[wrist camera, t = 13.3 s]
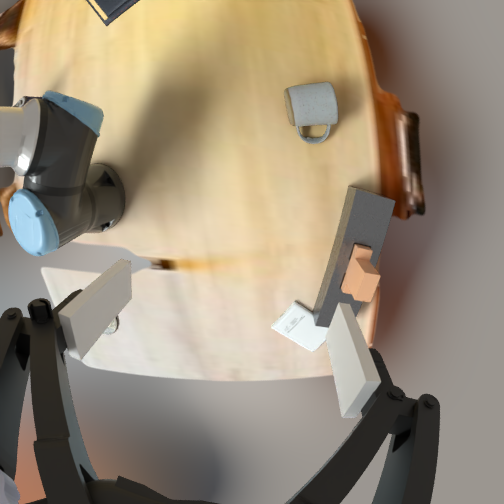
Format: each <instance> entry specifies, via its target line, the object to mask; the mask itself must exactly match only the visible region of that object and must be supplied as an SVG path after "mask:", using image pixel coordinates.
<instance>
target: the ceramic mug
mask: <svg viewBox="0 0 504 504" xmlns="http://www.w3.org/2000/svg"><path fill="white" fill-rule="evenodd" d="M284 97H285V102H286V108H287V112H288V117H289V121H290V124H292V125H293V126H296V129H297V132H298V135H299V136H300V138H301V139H302V140H303V141H305V142H307V143H311V144H317V143H321V142H323V141H324V140H325V139H326V138H327V136H328V135H329V132H330V127H331V124H336V123H337V121H338V105H337V99H336V95H335V91H334V88H333V86H332V85H331V83H330V82H322V83H313V84H306V85H298V86H293V87H289V88H287V89H285V91H284ZM310 125H327V129H326V132H325V134H324V135H323V136H322V137H320V138H309V137H307V138H305V137H304V136H303V135H302V134H301V133H300V131H299V126H310Z"/></svg>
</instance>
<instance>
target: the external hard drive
mask: <svg viewBox="0 0 504 504" xmlns="http://www.w3.org/2000/svg"><path fill="white" fill-rule="evenodd" d="M271 328H273V329H274V330H276V331H278V332H279V333H281V334H283V335H284V336H286V337H288V338H289V339H291V340H293V341H294V342H296V343H298V344H299V345H301V346H303V347H305V348H306V349H308V350H310V351H312V352H314V351H315V350H316V349H317V348H318V347H319V346H320V345H321V344H322V343H323V342H324V341H326V339H325V336H326V334H327V331H328V329H329V328H326V327H319V326H315V323H314V318H313V313H312V312H311V311H309V310H308V309H306V308H305V307H303V306H301V305H300V304H298V303H297V302H295V301H294V302H293V303H292V304H291V305H290V306H289V307H288V309H287V310H286V311H285V313H284V314H283V315H282V316H280V317H279V318H278V319H277V320H276V321H275V322H274V323H273V324H272V326H271Z"/></svg>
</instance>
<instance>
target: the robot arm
mask: <svg viewBox="0 0 504 504" xmlns="http://www.w3.org/2000/svg"><path fill="white" fill-rule="evenodd" d="M103 117H104V114H103V111H102V110H101V109H100V108H99V107H97V106H95V105H92V104H90V103H87V102H84V101H81V100H79V99H76V98H73V97H69V96H66V95H63V94H60V93H57V92H53V91H49V90H48V91H46V92H45V94H44V95H43V97H42V99H36V98H33V99H31V100H30V101H28V102H27V103H26V104H25V105H24V106H23V107H20V108H19V107H0V167H12V168H13V170H14V171H15V172H16V174H17V175H18V176H25V177H24V184H23V189H19V190H17V192H15V193H14V195H13V196H12V197H11V199H10V203H9V221H10V225H11V228H12V231H13V233H14V235H15V237H16V239H17V241H18V243H19V244H20V245H21V246H22V248H23V249H24V250H26V251H27V252H28V253H30V254H32V255H34V256H43V255H45V254H47V253H50V252H53V251H55V250H57V249H58V248H60V247H61V246H63V245H65V244H66V243H68V242H70V241H71V240H73V239H75V238H76V237H78V236H80V235H82V234H83V233H101V232H104V231H106V230H108V229H110V228H112V227H113V226H114V225H115V224H116V223H117V222H118V221H119V220H120V218H121V216H122V214H123V210H124V206H125V193H124V188H123V185H122V182H121V180H120V178H119V176H118V175H117V174H116V173H115V171H114V170H112V169H111V168H110V167H108V166H106V165H103V164H91V165H90V162H91V158H92V155H93V151H94V148H95V144H96V141H97V138H98V137H99V136H100V133H99V132H100V128H101V125H102V121H103ZM131 299H132V288H131V261H128V260H123V259H120V260H119V261H118V262H116V263H115V264H114V265H113V266H111V268H109V269H108V270H107V271H105V272H104V273H103V274H102V275H101V276H99V277H98V278H97V279H96V280H95V281H93V282H92V283H91V284H90V285H89V286H88V287H86V288H85V289H84V290H81V289H79V290H77V291H75V292H73V293H71V294H70V295H69V296H68V297H67V298H66V299H64V300H63V302H61V303H60V304H59V305H58V306H56V307H55V308H54V309H53V310H52V309H51V304H50V302H49V301H48V300H47V299H44V298H39V299H35V300H33V301H32V302H30V303H29V304H28V311H29V314H30V318H27V317H23V314H22V312H21V310H20V309H19V308H9V309H7V310H6V311H5V312H4V313H3V314H2V316H1V318H0V504H18V500H19V499H20V494H19V492H18V491H17V487H16V485H15V483H14V479H15V473H16V464H17V447H18V436H19V427H20V419H21V413H22V406H23V401H24V395H25V390H26V385H27V381H28V376H29V372H30V377H31V393H32V405H33V414H34V421H35V428H36V434H37V441H34V452H35V457H36V461H37V465H38V470H39V473H40V477H41V481H42V485H43V488H44V491H45V494H46V498H44V499H41V500H37V501H34V502H31V503H27V504H217V503H212V502H206V501H190V500H172V499H169V498H167V497H165V496H163V495H161V494H159V493H157V492H156V491H154V490H152V489H150V488H148V487H147V486H145V485H143V484H140V483H137V482H134V481H131V480H129V479H126V478H124V477H121V476H118V478H117V480H112V479H102V480H99V479H98V477H97V475H96V473H95V471H94V469H93V467H92V465H91V463H90V460H89V457H88V454H87V451H86V448H85V446H84V442H83V439H82V435H81V432H80V428H79V425H78V421H77V417H76V413H75V409H74V405H73V400H72V396H71V391H70V386H69V380H68V374H67V368H66V362H65V355H64V351H65V349H66V348H67V349H68V352H69V355H70V356H71V357H74V358H76V359H78V360H80V361H81V360H82V359H83V357H84V356H85V355H86V353H87V352H88V351H89V350H90V348H91V347H92V346H93V345H94V343H95V342H96V341H97V340H98V338H99V337H100V336H101V335H102V333H103V332H104V331H105V330H106V328H107V327H108V326H109V325H110V324H111V322H112V321H113V320H114V319H115V318H116V316H117V315H118V314H119V313H120V312H121V310H122V309H123V308H124V307H125V306H126V304H127V303H128V302H129V301H130V300H131ZM325 339H326V343H327V348H328V352H329V357H330V361H331V366H332V370H333V375H334V380H335V384H336V389H337V394H338V400H339V405H340V410H341V415H342V418H356V416H357V415H358V414H359V413H360V411H361V412H362V416H363V417H362V419H361V420H360V421H359V422H358V424H357V425H356V426H355V427H354V429H353V430H352V432H351V433H350V434H349V436H348V437H347V438H346V439H345V441H344V442H343V443H342V444H341V446H340V447H339V448H338V449H337V450H336V452H335V453H334V454H333V455H332V456H331V457H330V458H329V460H328V461H327V462H326V463H325V464H324V465H323V466H322V468H321V469H320V470H319V471H318V472H317V473H316V474H315V475H314V476H313V477H312V478H311V479H310V480H309V481H308V482H307V483H306V484H305V485H304V486H303V487H302V488H301V489H300V490H299V491H298V492H297V493H296V494H295V495H294V496H293V497H292V498H291V499H289V500H288V501H287V502H286V503H285V504H340V503H341V502H342V500H343V499H344V498H345V496H346V495H347V494H348V493H349V491H350V490H351V489H352V487H353V486H354V485H355V483H356V482H357V481H358V479H359V478H360V477H361V475H362V474H363V472H364V471H365V469H366V468H367V467H368V465H369V463H370V462H371V461H372V459H373V458H374V456H375V454H376V453H377V451H378V450H379V448H380V446H381V445H382V443H383V441H384V440H385V438H386V436H387V435H388V433H389V434H392V437H391V441H390V445H389V450H388V454H387V458H386V461H385V464H384V468H383V471H382V475H381V478H380V481H379V484H378V487H377V490H376V493H375V496H374V499H373V502H372V504H430V502H431V497H432V492H433V487H434V480H435V473H436V466H437V457H438V445H439V428H440V427H439V426H440V405H439V402H438V400H437V399H436V398H435V397H434V396H432V395H430V394H423V395H421V396H420V398H419V399H418V400H415V399H412V398H408V397H406V396H405V393H404V392H403V390H401V389H400V388H399V387H396V386H394V385H393V383H392V380H391V378H390V375H389V373H388V371H387V369H386V366H385V364H384V361H383V359H382V357H381V355H380V353H378V351H377V350H376V349H372V348H368V346H367V344H366V341H365V339H364V336H363V334H362V331H361V329H360V327H359V324H358V322H357V320H356V317H355V315H354V313H353V310H352V308H351V306H350V304H346V303H338V305H337V308H336V311H335V313H334V316H333V319H332V321H331V324H330V326H329V329H328V331H327V334H326V336H325Z"/></svg>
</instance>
